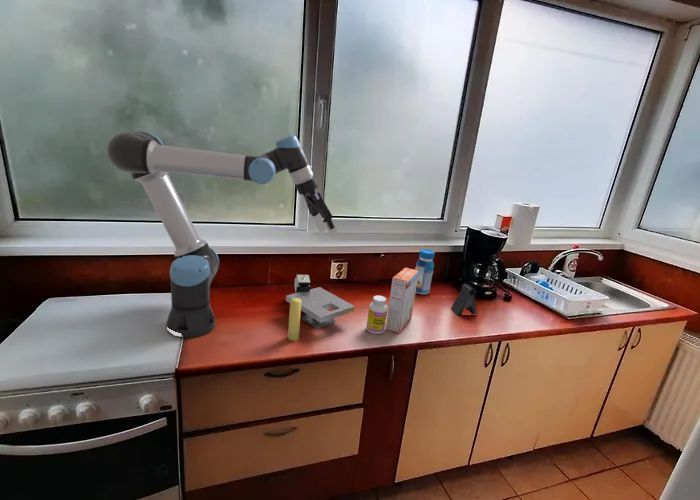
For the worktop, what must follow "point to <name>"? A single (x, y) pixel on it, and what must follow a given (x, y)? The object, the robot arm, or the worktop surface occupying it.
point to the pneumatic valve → (302, 283)
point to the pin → (294, 319)
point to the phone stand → (465, 300)
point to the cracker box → (401, 299)
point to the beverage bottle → (424, 271)
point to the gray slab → (321, 306)
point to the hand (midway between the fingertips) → (329, 233)
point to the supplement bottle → (377, 315)
